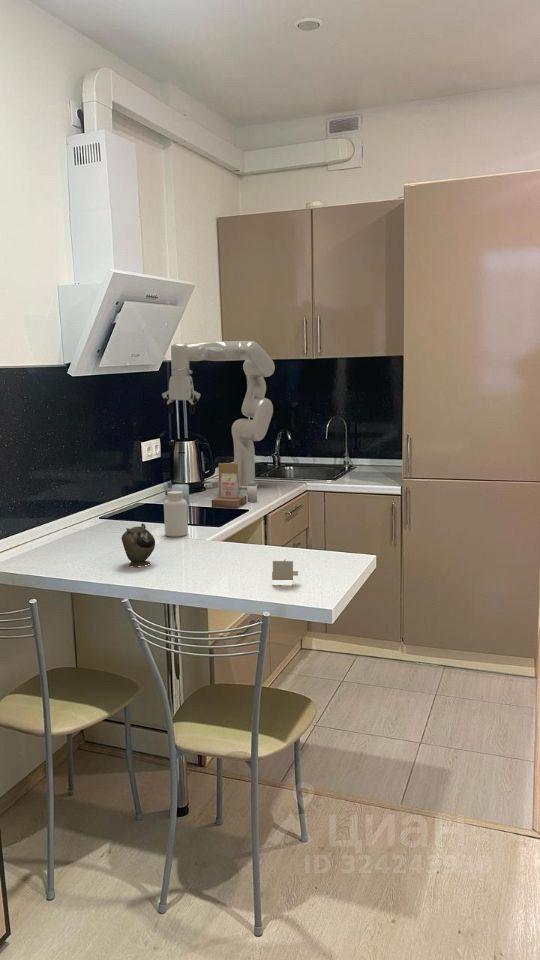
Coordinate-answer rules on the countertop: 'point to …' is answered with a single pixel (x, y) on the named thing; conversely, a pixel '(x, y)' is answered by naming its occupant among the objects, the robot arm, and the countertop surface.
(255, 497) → the salt shaker
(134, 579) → the countertop surface
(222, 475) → the tea bag
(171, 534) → the pill bottle
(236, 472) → the sandwich container
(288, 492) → the countertop surface
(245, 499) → the podium
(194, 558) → the countertop surface
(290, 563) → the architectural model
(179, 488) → the mug
